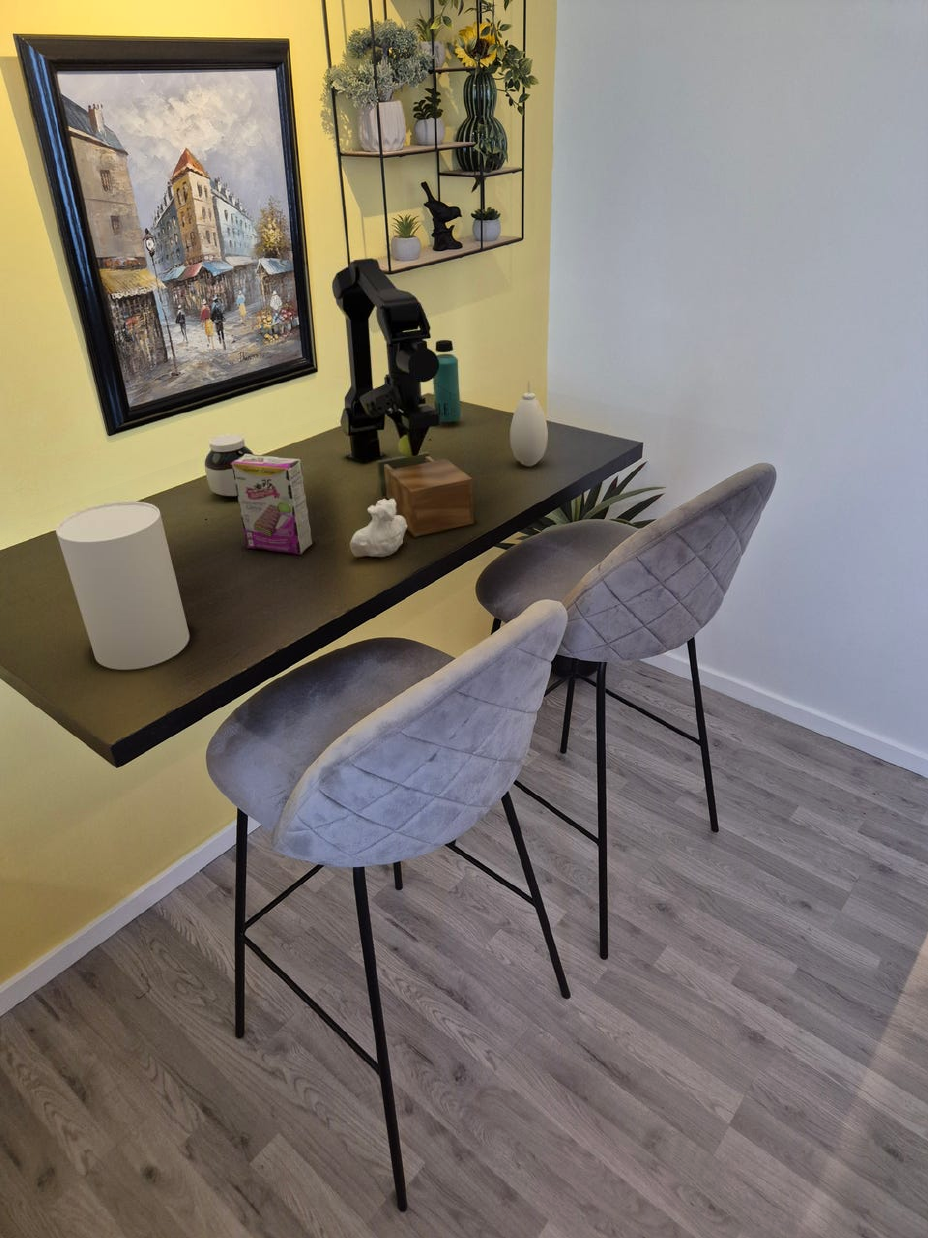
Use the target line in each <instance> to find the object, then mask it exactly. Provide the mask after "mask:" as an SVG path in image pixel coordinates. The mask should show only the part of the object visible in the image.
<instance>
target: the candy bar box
mask: <svg viewBox="0 0 928 1238" xmlns="http://www.w3.org/2000/svg"><path fill="white" fill-rule="evenodd" d="M231 464H232V469H233V474H234V480H235V485H236V491H237V496H238V500H237V501H238V506H239V511H240V517H241V521H242V528H243V532H244V539H245V543H246V548H248V549H253V550H254V549H255V550H261V551H269V552H278V553H285V554H291V555H302V554H304V553H305V552H306V551H307V549H309V548H310V547H311V546H312V545H313V536H312V530H311V524H310V516H309V510H308V503H307V496H306V489H305V482H304V481H305V480H304V475H303V467H302V460H301V459H300V458H293V457H292V458H291V457H281V456H273V455H272V456H271V455H261V454H260V455H259V454H254V455H252V454H244V455H243V456H241V457H240V458H238V459H237V460H235V461H233V462H232V463H231Z"/></svg>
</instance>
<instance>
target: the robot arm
mask: <svg viewBox="0 0 928 1238" xmlns="http://www.w3.org/2000/svg"><path fill="white" fill-rule="evenodd" d="M331 288H332V294H333V298H334V299H335V302H336V305H337V307H338V308H339V310H340V312H342V314H343V316H344V318H345V327H346V339H347V341H346V342H347V350H348V352H347V353H348V364H349V365H348V367H349V377H350V378H349V379H350V387H349V389H348V391H347V392H346V394H345V396H344V408H343V409H342V413H341V417H340V421H339V422H340V426H341V431H342V432H343V433H344V434H345V435H346V436H347V437H349V443H350V452H351V453H348V454H346V455H345V458H346V459H349V460H352V461H355V462H358V463H361V464H366V463H370V462H372V461H375V460H378V459H381V458H384V457H386V453H385V452H381V447H380V445H381V444H380V438H379V432H378V431H384V430H385V424H386V416H387V417H388V418H390V419H391V420H392V422H393V424H394V427H395V429H396V432H397V435H398V437H399V440H400V439H401V438H402V437H403V436H404V435H407V437H408V441H409V446H410V450H411V454H412V455H413V456H416V455H418V453H420V452H421V450H420V448H421V449H422V447H423V443H424V440H425V438H426V436H427V434H428V431H429V430H430V428H432V427H439V426H440V425H442V422H441V415H440V413H439V412H437V411H436V410H435V409H434V407H432V406H431V405H429V404H427V405H426V398H425V396H423V395H422V383H427V382H430V381H431V380H433V378H434V377H435V376H436V374H437V372H438V369H439V360H438V358H437V355H438V354H436V352H435V351H433V350H432V349H430V348H429V347H428V342H427V339H428V340H429V339H431V337H432V335H431V325H430V322H429V319H428V317H427V315H426V311H425V310H424V308H423V306H422V303H421V302H420V301H419V300H418V298H417V297H416V296H415V295H414V294H412V293H411V292H409V291H408V290H403V289H398V288H397V287H396V285H395V284H394V283H393V282H392V281H391V280H390V278H389V277H388V276H387V275H386V273H385V272H384V271H383V270H382V269H381V267H380V263H379V261H378V259H376V258H375V259H374V258H372V257H370V258H362V259H361V258H360V259H354V260H352V261H350V262H349V264H348V265H347V266H346V267H345V268H343V269H341V270H340V271H338V272H337V273H336V274H335V276H334V278H333V280H332V282H331ZM375 308H376V310H375V311H376V312H375V314H376V315H375V316H376V321H377V325H378V327H379V329H380V331H381V334H382V336H383V339H384V341H385V343H386V344H385V345H386V346H385V347H386V356H387V358H386V359H387V369H388V373H386V374H385V376H384V378H383V381H384V383H383V384H382V385H379V386H376V387H374V385H373V384H374V381H373V380H374V379H373V368H372V367H373V366H372V365H373V364H372V350H371V335H370V318H371V315H372V314H373V311H374V309H375ZM419 451H420V452H419Z"/></svg>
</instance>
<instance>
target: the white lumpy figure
mask: <svg viewBox="0 0 928 1238" xmlns="http://www.w3.org/2000/svg"><path fill="white" fill-rule="evenodd" d="M396 512H397V510H396V502H395V500H394V499H390V500H389V499H388V500H387V499H386V498H383V499H380V500H377V501H376V504H375V505H374V504H371V505H370V506H369V507H367V513H368V514H370V515H371V518H372V519H371V521H370V522H369V523H368V525H366V526H365V527H363V528H360V529H358V530H357V531H355V533H354V534H353V536H352V537H351V540H350V542H349V549H350V551H351V553H352V555H353V556H354V557H356V558H361V557H372V558H374V557H375V558H385V557H387V556H388V557H389V556H391V555H392V554H395V552H397V551H398V549H399V548H400V547H401V546H402V544H404V540H403V539H404V536H405V534H406V532H407V529H406V528H407V524H406V520H405V518H404V517H403V516H400V515H396Z"/></svg>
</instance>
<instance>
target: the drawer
mask: <svg viewBox="0 0 928 1238" xmlns="http://www.w3.org/2000/svg"><path fill="white" fill-rule="evenodd" d="M433 461H436V460H435V459H434V458H432V457H431V456H430V452H429V451H428V450H427V451H420V452H419V454H418V455H417V456H415V457H412V458H408V457H405V456H403V455H399V456H396V457H395V456H394V457H390V458H383V459H380V460H377V461H376V468H377V477H378V478H377V479H378V488H379V496H380V497H381V498H383V497H386V498H387V499H388V500H390V489H389V478H388V470H393V469H398V468H403V467H408V466H413V465H418V464H423V463H428V462H433Z"/></svg>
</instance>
